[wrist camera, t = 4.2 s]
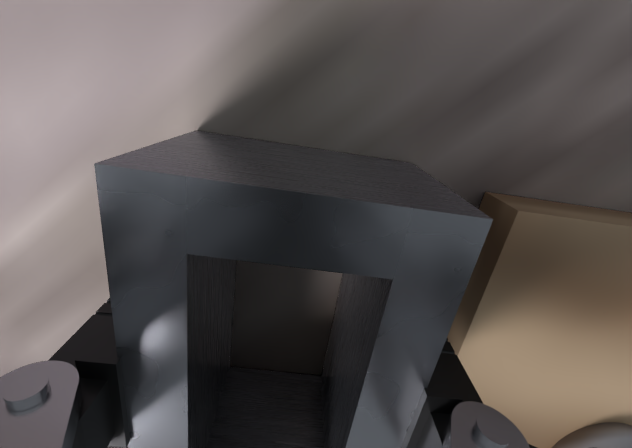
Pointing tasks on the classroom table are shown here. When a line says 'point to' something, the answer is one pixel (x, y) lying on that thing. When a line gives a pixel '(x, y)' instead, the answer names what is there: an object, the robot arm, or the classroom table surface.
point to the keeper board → (552, 321)
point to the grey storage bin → (285, 250)
